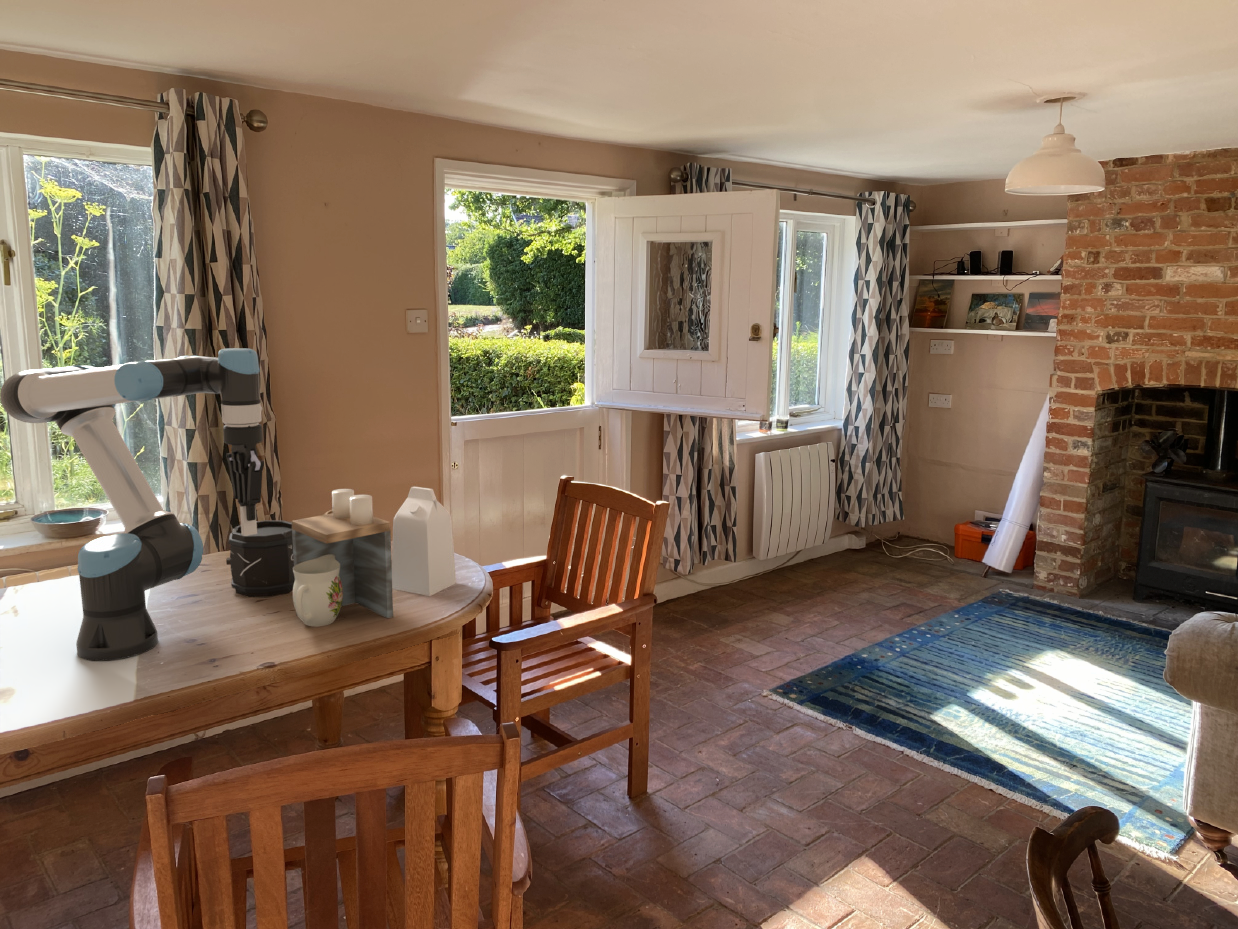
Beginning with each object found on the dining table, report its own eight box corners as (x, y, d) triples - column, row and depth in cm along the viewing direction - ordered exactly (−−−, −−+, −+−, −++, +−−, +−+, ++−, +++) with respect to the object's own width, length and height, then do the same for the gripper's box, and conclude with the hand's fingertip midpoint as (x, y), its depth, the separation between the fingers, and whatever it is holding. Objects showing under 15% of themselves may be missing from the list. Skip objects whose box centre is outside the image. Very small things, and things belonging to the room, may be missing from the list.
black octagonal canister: (230, 580, 238) (226, 521, 235) (302, 573, 244) (299, 516, 241) (227, 602, 221) (222, 540, 218) (304, 595, 228) (301, 534, 224)
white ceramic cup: (357, 526, 205) (356, 500, 204) (346, 522, 209) (345, 496, 207) (377, 522, 209) (376, 497, 208) (365, 518, 212) (364, 493, 211)
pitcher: (275, 636, 201) (272, 576, 198) (312, 608, 219) (309, 553, 216) (323, 639, 200) (320, 579, 197) (355, 610, 217) (353, 555, 215)
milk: (456, 583, 239) (454, 486, 234) (429, 596, 229) (427, 495, 223) (418, 576, 244) (416, 481, 239) (391, 588, 233) (388, 490, 228)
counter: (330, 634, 203) (326, 534, 198) (296, 615, 213) (291, 520, 209) (393, 616, 214) (390, 522, 209) (357, 599, 225) (354, 509, 220)
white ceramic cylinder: (339, 519, 211) (338, 494, 209) (328, 515, 214) (327, 490, 213) (358, 516, 214) (358, 491, 213) (348, 512, 218) (347, 487, 216)
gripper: (274, 426, 186) (280, 537, 191) (246, 418, 195) (253, 525, 199) (238, 429, 181) (245, 544, 185) (211, 421, 190) (218, 531, 194)
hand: (249, 534), depth 192 cm, fingers closed
